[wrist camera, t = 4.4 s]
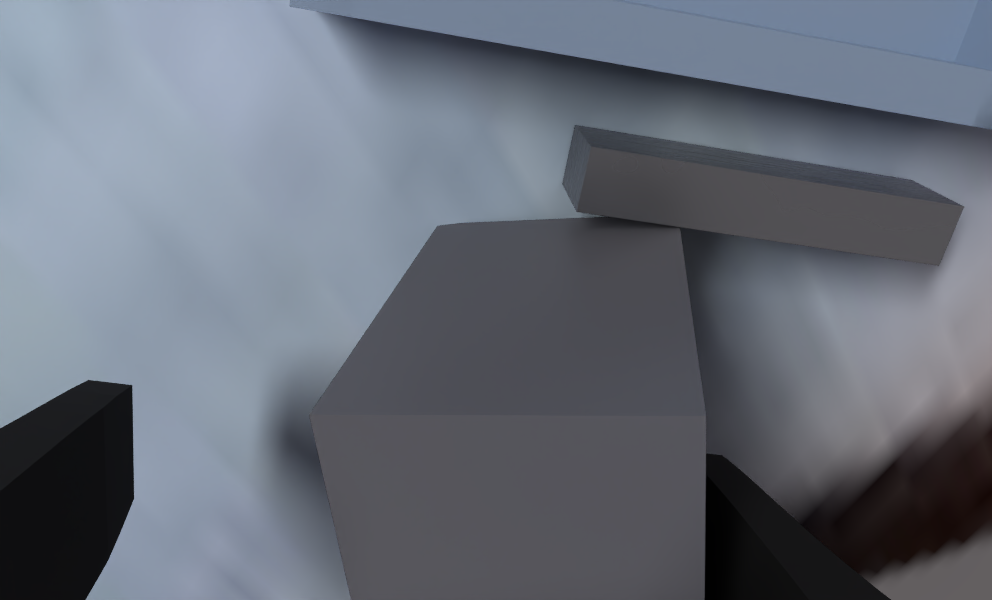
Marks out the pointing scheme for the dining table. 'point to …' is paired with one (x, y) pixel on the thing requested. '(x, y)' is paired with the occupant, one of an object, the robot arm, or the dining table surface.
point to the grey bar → (524, 421)
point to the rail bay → (756, 196)
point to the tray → (746, 43)
